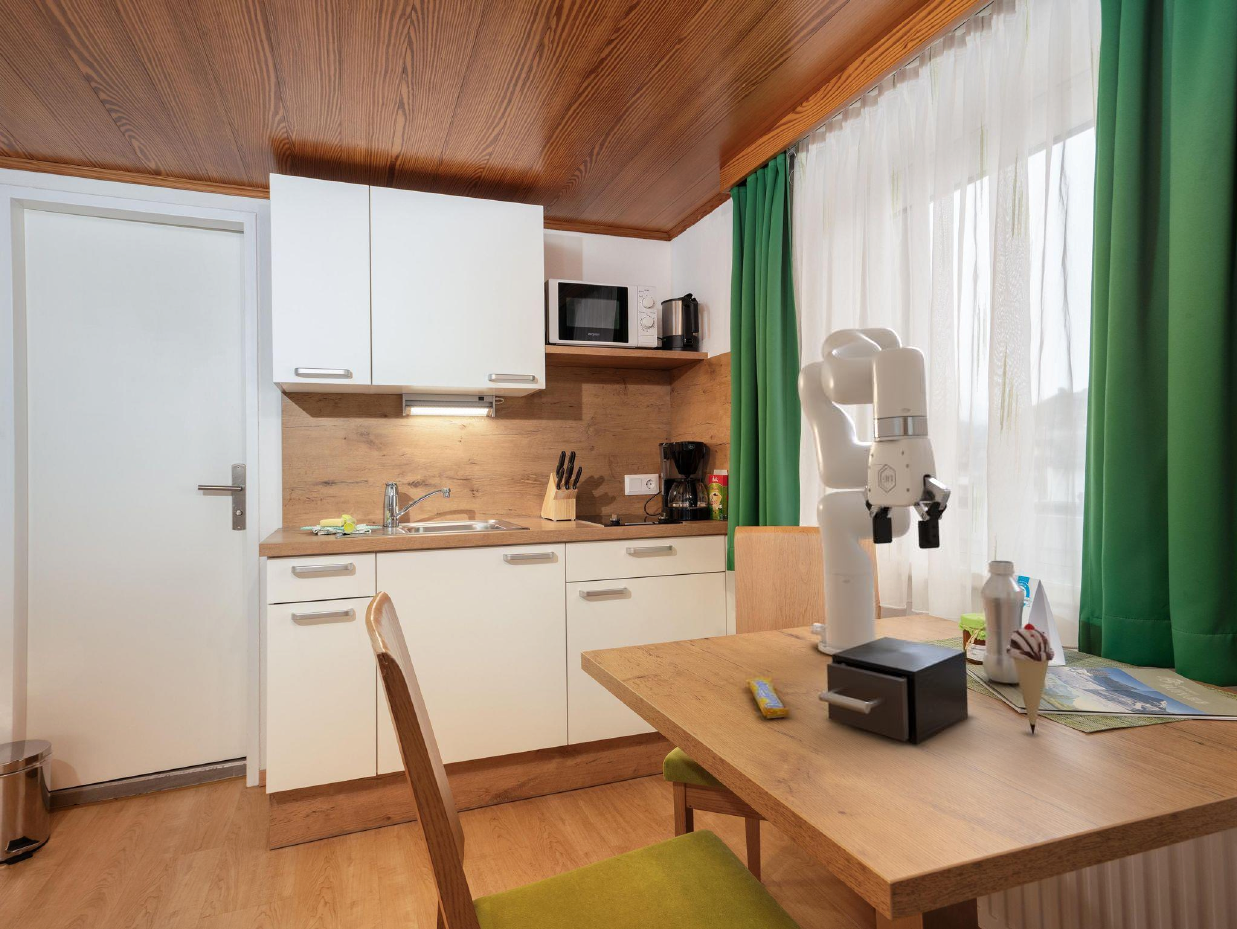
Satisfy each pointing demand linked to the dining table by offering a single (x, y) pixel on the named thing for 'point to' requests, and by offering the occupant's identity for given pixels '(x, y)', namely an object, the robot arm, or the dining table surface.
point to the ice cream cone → (1030, 666)
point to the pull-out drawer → (869, 699)
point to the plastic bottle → (1001, 620)
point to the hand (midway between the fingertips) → (905, 545)
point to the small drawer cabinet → (920, 680)
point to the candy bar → (766, 697)
